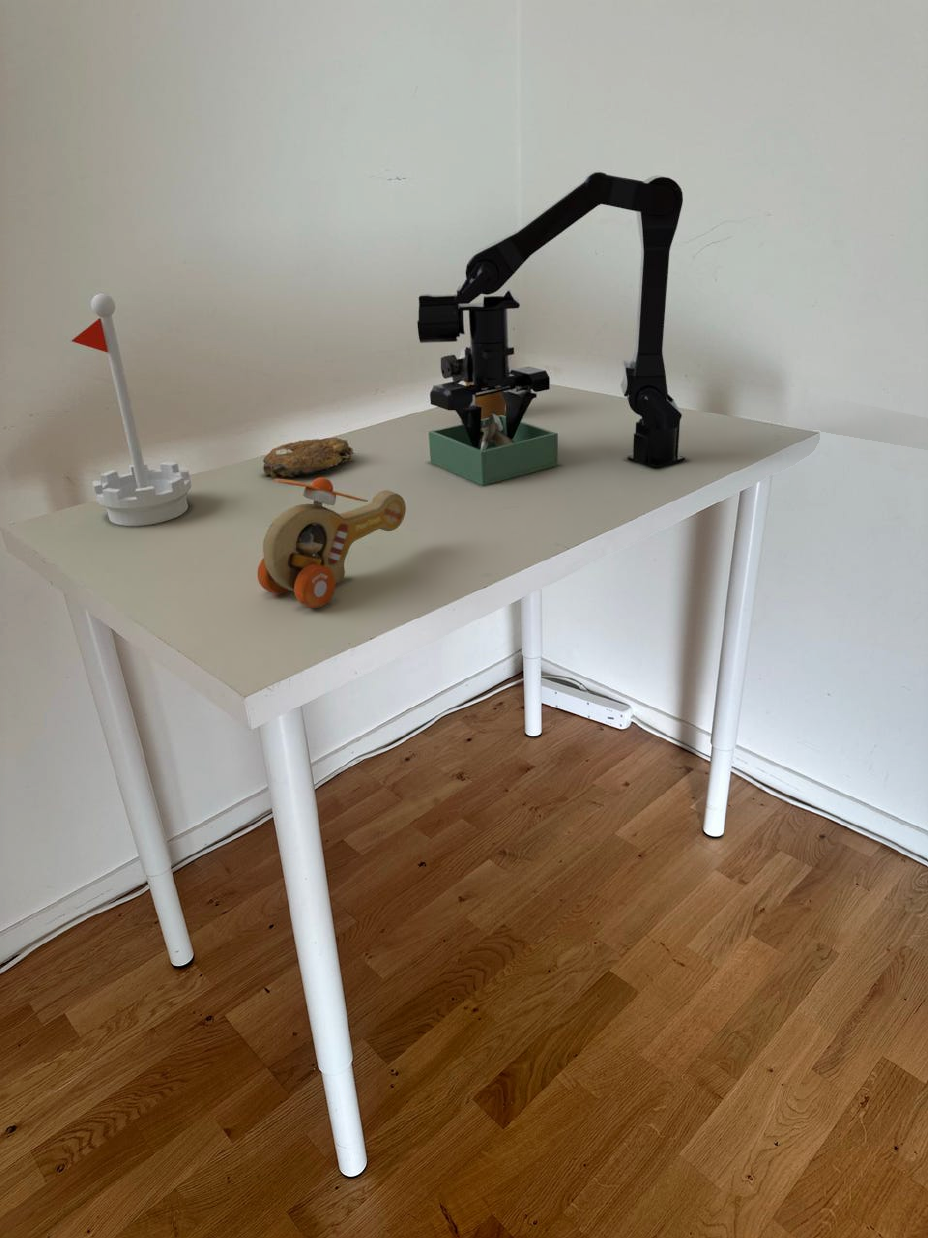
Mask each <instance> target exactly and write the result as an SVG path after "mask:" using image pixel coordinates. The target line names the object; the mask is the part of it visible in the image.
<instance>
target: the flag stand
mask: <svg viewBox="0 0 928 1238" xmlns="http://www.w3.org/2000/svg"><path fill="white" fill-rule="evenodd" d="M90 306H91V309H92V312H93V313H95V315H97V316H98V317H99V318H97V319H96V320H95V321H94V322H93V323H91V324H90V325H89V326H88V327H87V328H84V330H83V331H82V332H80V333H79V334H78V335H76V336H75V337H74V338H73V339H72V340H71V342H72V343H75V344H78V345H81V346H85V347H89V348H91V349H95V350H98V351H101V352H103V353H107V355H108V360H109V365H110V370H111V373H112V374H111V375H112V378H113V383H114V387H115V388H114V389H115V391H116V396H117V401H118V405H119V409H120V410H119V411H120V413H121V414H120V415H121V418H122V423H123V427H124V431H125V437H126V440H127V441H126V442H127V445H128V450H129V454H130V458H131V462H132V464H129V465H128V468H129V473H124V474H120V475H119V473H118V470H114V469H111V470H108V471H106V472H103V473H101V474H99V477H100V480H93V481H92V487H93V491H94V495H95V499H96V502H97V504H99V505H101V506H102V507H104V508H106V511H107V515H108V520H109V521H110V522H111V523H112V524H115V525H119V526H126V527H140V526H148V525H150V526H151V525H155V524H160V523H163V522H168V521H171V520H173V519H175V518H178V517H180V516H181V515H183V514H184V513H186V511H187V510H188V508H189V505H188V500H187V493H188V492H189V491H190V490H191V489H192V481H191V477H190V471H189V468H188V467H187V466H183V467H179V465H178V463H177V462H171V461H163V462H161V463H160V464H159V466H160V469H149V467H148V463H147V462H145V461H144V457H143V453H142V448H141V444H140V439H139V434H138V430H137V424H136V421H135V416H134V411H133V407H132V403H131V398H130V397H131V396H130V393H129V388H128V384H127V379H126V375H125V371H124V370H125V369H124V365H123V359H122V357H121V351H120V346H119V343H118V338H117V333H116V329H115V324H114V320H113V319H114V318H113V314H114V313H115V311H116V302H115V301H114V298H113V297H111V296H110V295H108V294H106V293H98V294H96V295H95V296H93V297H92V299H91V302H90Z"/></svg>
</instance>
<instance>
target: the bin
mask: <svg viewBox="0 0 928 1238" xmlns="http://www.w3.org/2000/svg"><path fill="white" fill-rule="evenodd" d="M498 417H499V418H500V421H501V424H502V426H503V430H502V431H500V432H501V433H503V434H504V435H506V436H507V431H506V415H504V416H503V415H499V416H498ZM484 420H485V421H486V427H488V421H489V418H486V419H481V427H482V425H483V421H484ZM558 436H559V434H558V433H557V432H555V431H552V430H548V429H545V428H542V427H539V426H537V425H534V424H531V423H527V422H524V421H522V420H521V422H520V425H519V427H518V429H517V431H516V434H515V436H514V438H513V439H511V440H513V442H514V443H512V444H508V445H504V446H500V447H496V445H495V444H494V443H490V444H489V445H488V447H487V449H486V450H484V451H481V444H482V443H481V441H480V442H479V447H478V448H475V447H473V446H472V443H471V441H470V439H469V436H468V434H467V431H466V429H465V427H464V425H463V424H462V423H460V424H455V425H452V426H447V427H442V428H438V429H434V430H430V431H428V441H429V442H428V443H429V456H430V457H429V458H430V463H431V464H433V465H434V466H438V467H440V468H442V469H445V470H446V471H449V472H451V473H452V474H453V473H454V474H456V475H458V476H460V477H462V478H465V479H467V480H468V481H471V482H473V483H476V484H478V485H479V486H480V485H481V486H486V485H490V484H493V483H498V482H502V481H505V480H509V479H512V478H516V477H520V476H523V475H527V474H530V473H534V472H539V471H542V470H546V469H549V468H554V467H556V466H557V467H558V463H559V458H558V455H559V453H558V451H559V448H558V447H559V445H558V444H559V440H558V439H559V437H558Z"/></svg>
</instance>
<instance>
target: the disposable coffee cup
mask: <svg viewBox="0 0 928 1238" xmlns="http://www.w3.org/2000/svg"><path fill="white" fill-rule="evenodd" d="M465 349H466V347H464V348H462V349H461V352H460V356H459V358H458V359H462V358H465ZM512 357H513V355H509V362H511V358H512ZM464 383H465V386H469V385H472V383H471V382H469V383H467V382H464ZM499 386H501V385H499ZM495 387H498V386H495ZM484 389H487V388H483V389H482V390H484ZM475 398H476V405H477V406H480V407H482V412H481V420H482V419H486V418H489V414H495V415H497V416H499V415H503V416H506V405H505V401H504V398H503V396H502V394H501V392H498V393H493V394H489V395H484V396H479V397H475Z"/></svg>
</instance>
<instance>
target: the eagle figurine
mask: <svg viewBox="0 0 928 1238" xmlns="http://www.w3.org/2000/svg"><path fill="white" fill-rule="evenodd" d="M460 422H461V424H463V422H462V420H461V419H460ZM463 425H464V424H463ZM502 430H503V426H502V424H501V421H500V418H499V417H498V416H497V415H495V414H489V421H488V427H486V421H485V420H484V421H483V425H482V427H481V430H480V441H481V443H482V444H481V451H484V450H486V449H487V447H488V445H489V444H490V443H494V444H495V445H496V447H500V446H504V445H508V444H512V443H514V442H513V440H511V439H510V438H509V437H507V436H506V435H504V434H503V433H501V432H500V431H502Z"/></svg>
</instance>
